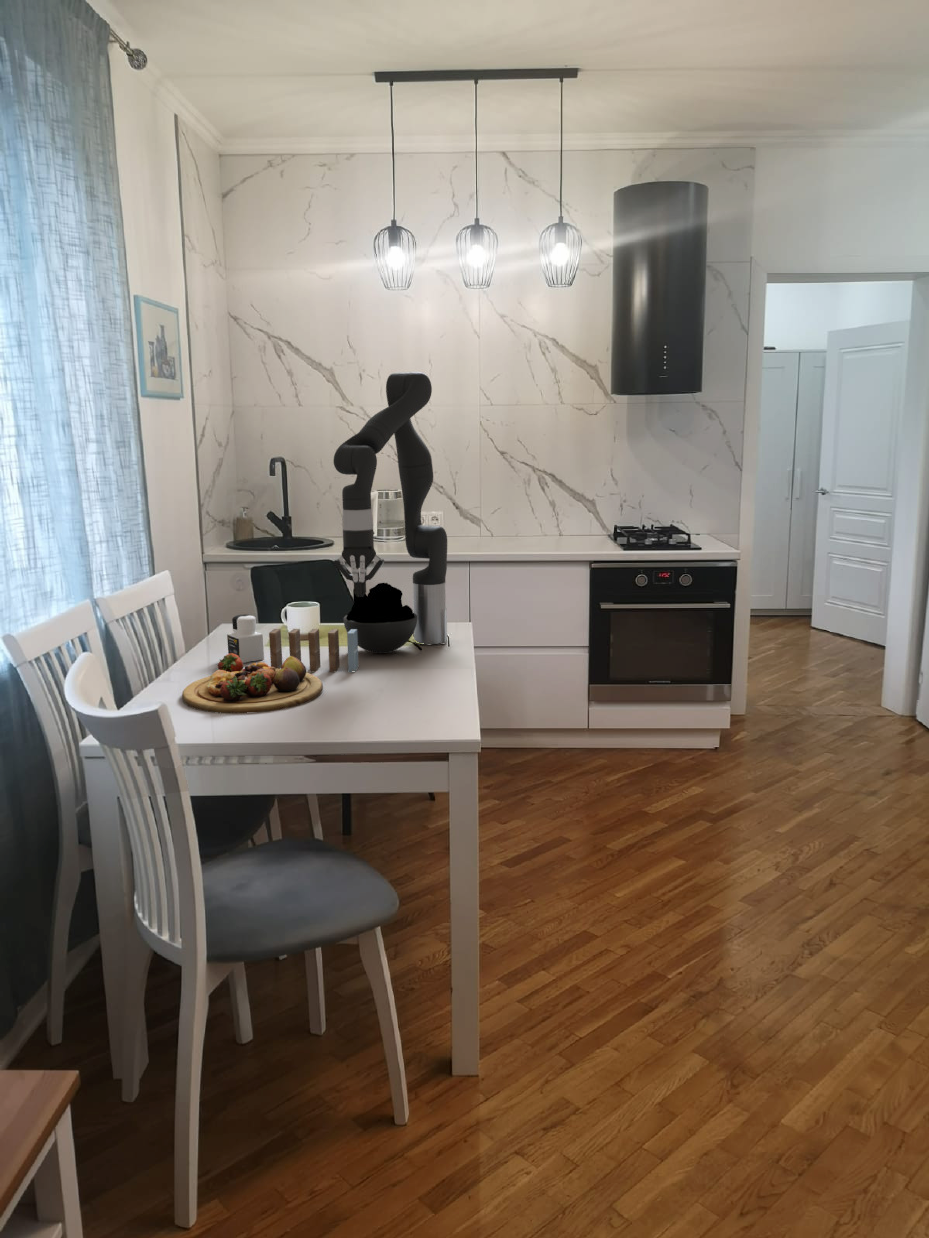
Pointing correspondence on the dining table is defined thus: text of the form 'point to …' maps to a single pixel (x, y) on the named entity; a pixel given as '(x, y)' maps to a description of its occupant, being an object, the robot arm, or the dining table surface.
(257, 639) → the medicine bottle
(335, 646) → the tile
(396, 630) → the bowl of black rocks
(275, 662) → the brown wooden block
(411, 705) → the dining table surface
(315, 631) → the tile
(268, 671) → the wooden plate with food
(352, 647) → the tile
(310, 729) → the dining table surface
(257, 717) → the dining table surface
